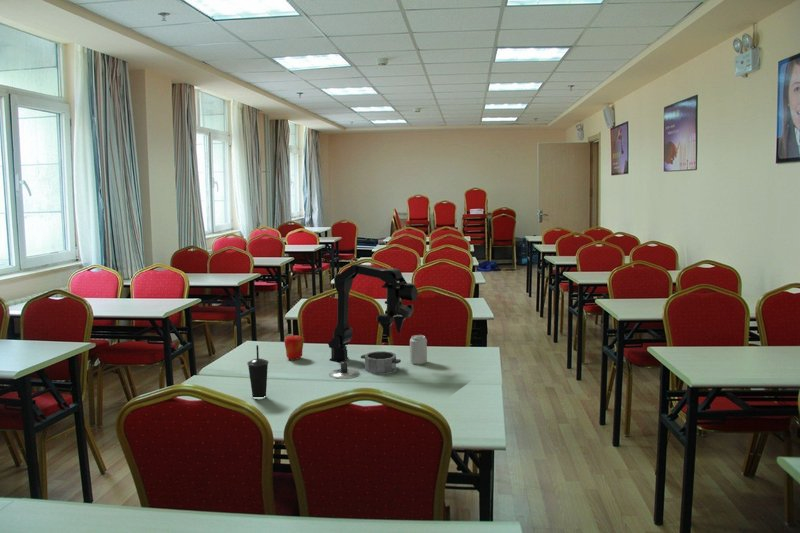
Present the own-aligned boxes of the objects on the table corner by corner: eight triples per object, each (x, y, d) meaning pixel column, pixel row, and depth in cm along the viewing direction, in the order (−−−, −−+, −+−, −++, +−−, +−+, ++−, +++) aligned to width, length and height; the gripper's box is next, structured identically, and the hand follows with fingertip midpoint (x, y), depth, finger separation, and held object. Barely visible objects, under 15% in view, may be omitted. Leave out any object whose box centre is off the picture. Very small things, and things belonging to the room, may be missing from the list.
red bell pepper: (294, 362, 284) (293, 336, 282) (280, 359, 288) (280, 334, 287) (307, 357, 291) (307, 332, 289) (294, 355, 295) (293, 330, 294)
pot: (354, 370, 271) (354, 356, 270) (370, 362, 282) (370, 349, 282) (391, 376, 262) (391, 362, 262) (406, 367, 274) (406, 354, 273)
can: (425, 365, 277) (425, 338, 276) (408, 364, 279) (408, 338, 277) (428, 360, 284) (428, 334, 283) (411, 360, 286) (411, 333, 284)
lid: (323, 377, 263) (322, 364, 263) (340, 369, 274) (339, 356, 274) (348, 381, 257) (348, 368, 257) (365, 373, 268) (364, 360, 268)
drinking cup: (250, 394, 241) (248, 343, 238) (270, 394, 242) (269, 342, 239) (247, 401, 234) (245, 348, 231) (268, 400, 234) (266, 347, 232)
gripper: (399, 304, 258) (399, 341, 260) (420, 296, 274) (420, 332, 276) (375, 301, 263) (376, 338, 265) (397, 294, 279) (397, 329, 281)
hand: (393, 334), depth 272 cm, fingers open, 9 cm apart
